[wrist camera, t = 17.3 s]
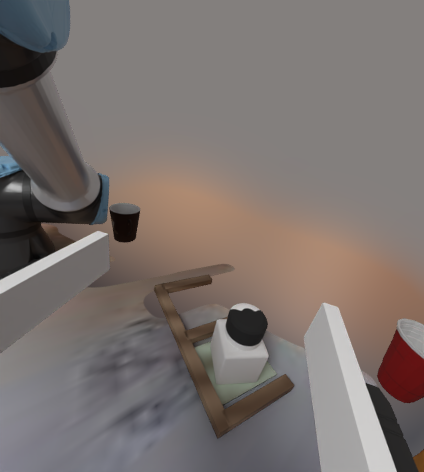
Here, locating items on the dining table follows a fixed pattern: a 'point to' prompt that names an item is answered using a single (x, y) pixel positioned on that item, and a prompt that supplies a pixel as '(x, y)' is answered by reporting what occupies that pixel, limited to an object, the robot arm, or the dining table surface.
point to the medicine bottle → (239, 345)
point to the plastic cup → (404, 363)
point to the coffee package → (419, 461)
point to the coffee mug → (124, 221)
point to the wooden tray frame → (203, 367)
